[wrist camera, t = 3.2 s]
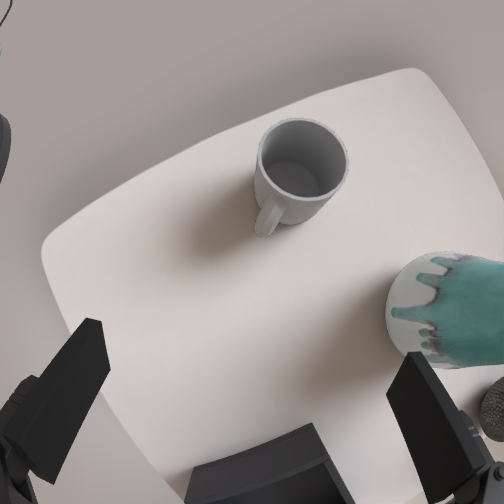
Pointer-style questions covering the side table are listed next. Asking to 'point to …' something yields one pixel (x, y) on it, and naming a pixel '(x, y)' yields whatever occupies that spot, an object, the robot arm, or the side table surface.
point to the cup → (297, 172)
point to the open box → (272, 474)
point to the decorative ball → (493, 412)
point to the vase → (449, 310)
